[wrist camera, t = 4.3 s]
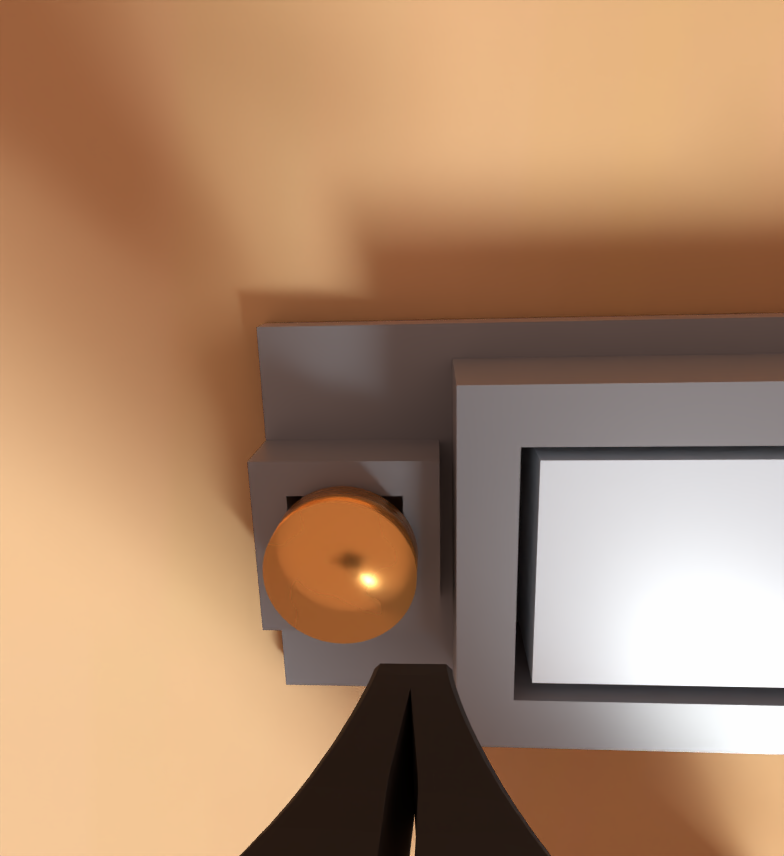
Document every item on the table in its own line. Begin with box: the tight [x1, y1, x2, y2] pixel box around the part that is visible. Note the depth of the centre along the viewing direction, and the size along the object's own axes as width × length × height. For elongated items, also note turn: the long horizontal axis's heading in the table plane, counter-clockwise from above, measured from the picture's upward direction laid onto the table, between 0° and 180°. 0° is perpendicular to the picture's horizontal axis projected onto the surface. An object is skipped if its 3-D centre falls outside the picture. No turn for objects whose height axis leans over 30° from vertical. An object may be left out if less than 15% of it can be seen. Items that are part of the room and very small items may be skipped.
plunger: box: [263, 486, 418, 644], centre depth 18 cm, size 4×4×3 cm
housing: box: [247, 313, 784, 754], centre depth 18 cm, size 12×23×5 cm, turn 91°
